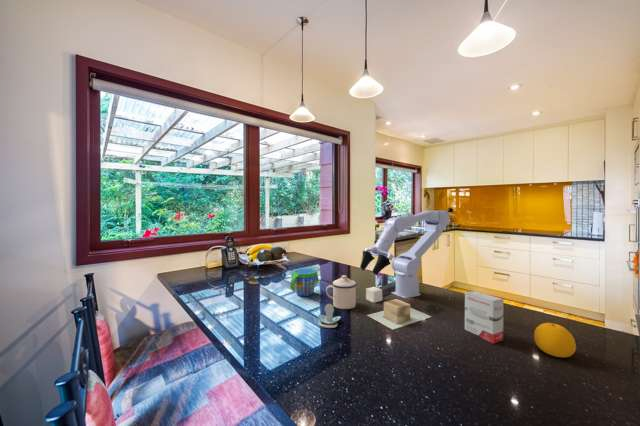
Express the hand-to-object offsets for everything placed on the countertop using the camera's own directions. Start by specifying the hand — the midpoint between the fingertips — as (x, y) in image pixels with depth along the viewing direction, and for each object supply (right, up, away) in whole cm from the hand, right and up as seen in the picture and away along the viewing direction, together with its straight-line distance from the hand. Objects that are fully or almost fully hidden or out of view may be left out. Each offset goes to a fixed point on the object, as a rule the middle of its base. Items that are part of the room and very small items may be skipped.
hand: (367, 271), depth 100 cm
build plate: (+8, -13, -13) cm, 20 cm away
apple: (+41, -13, -35) cm, 55 cm away
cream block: (+3, -13, +2) cm, 13 cm away
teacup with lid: (-11, -13, -2) cm, 17 cm away
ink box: (+29, -13, -26) cm, 41 cm away
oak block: (+7, -12, -15) cm, 21 cm away
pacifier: (-16, -13, -18) cm, 27 cm away
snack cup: (-25, -13, +12) cm, 31 cm away
